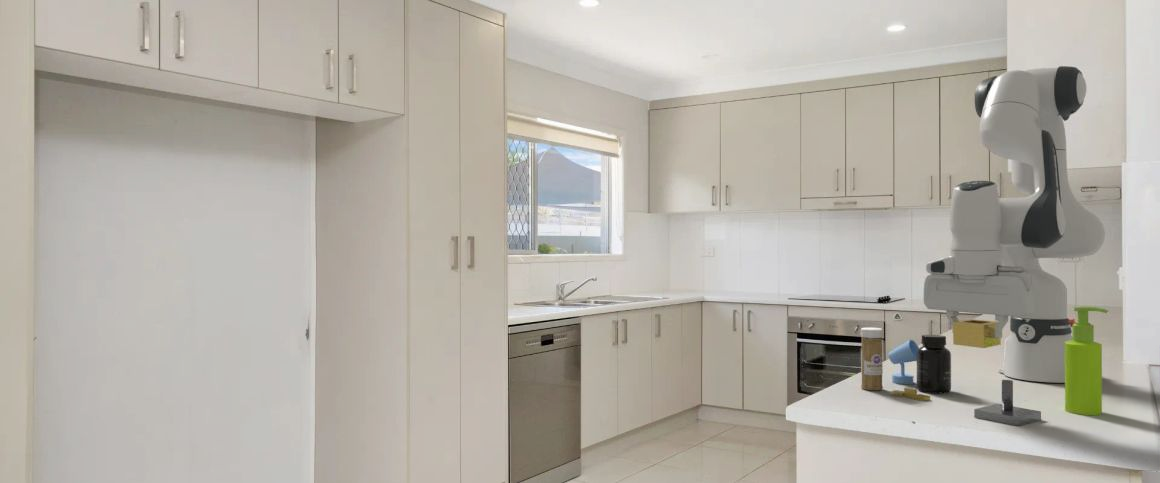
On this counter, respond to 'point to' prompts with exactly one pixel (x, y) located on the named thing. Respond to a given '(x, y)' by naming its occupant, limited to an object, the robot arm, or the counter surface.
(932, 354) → the supplement bottle
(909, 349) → the spotlight
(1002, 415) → the grey peg stand
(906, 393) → the tan barbell toy
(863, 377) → the sprinkles bottle
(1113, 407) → the counter surface
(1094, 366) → the soap dispenser
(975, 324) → the end link
